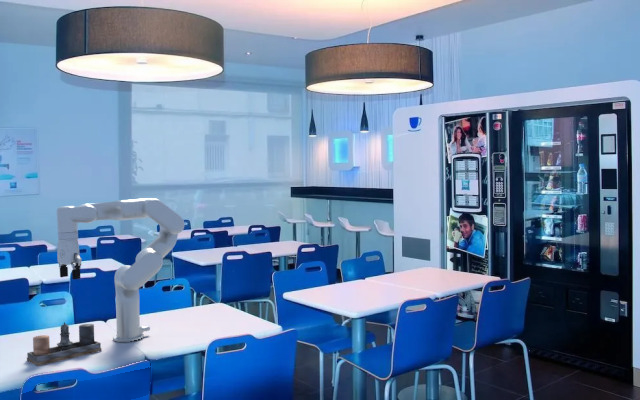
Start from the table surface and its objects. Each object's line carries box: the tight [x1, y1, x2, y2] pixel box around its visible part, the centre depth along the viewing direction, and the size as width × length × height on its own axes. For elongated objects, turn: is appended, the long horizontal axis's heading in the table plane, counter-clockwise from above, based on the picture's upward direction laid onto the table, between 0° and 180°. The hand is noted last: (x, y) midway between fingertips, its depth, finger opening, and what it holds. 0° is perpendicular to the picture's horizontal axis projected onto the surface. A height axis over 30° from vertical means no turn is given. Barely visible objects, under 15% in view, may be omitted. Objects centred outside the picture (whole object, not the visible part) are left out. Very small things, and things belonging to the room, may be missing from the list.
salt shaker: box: [56, 321, 74, 351], centre depth 237 cm, size 6×6×12 cm
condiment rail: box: [26, 323, 102, 367], centre depth 236 cm, size 25×10×10 cm, turn 138°
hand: (70, 277), depth 249 cm, fingers open, 9 cm apart
